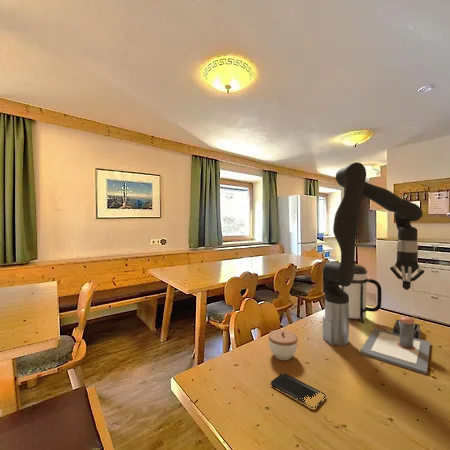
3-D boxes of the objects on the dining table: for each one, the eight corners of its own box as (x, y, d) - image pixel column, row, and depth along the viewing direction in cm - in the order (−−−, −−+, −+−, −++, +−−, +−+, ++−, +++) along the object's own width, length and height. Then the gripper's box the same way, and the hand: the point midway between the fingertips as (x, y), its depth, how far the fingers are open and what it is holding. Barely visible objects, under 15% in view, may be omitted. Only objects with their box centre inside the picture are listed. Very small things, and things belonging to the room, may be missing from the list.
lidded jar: (297, 350, 100) (297, 326, 100) (297, 366, 89) (297, 339, 89) (269, 347, 103) (269, 324, 102) (267, 361, 92) (267, 336, 92)
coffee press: (349, 325, 122) (350, 263, 121) (331, 313, 138) (331, 258, 137) (382, 323, 124) (383, 262, 123) (360, 311, 140) (361, 257, 139)
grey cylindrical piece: (406, 349, 97) (407, 321, 97) (396, 343, 102) (396, 316, 101) (416, 348, 98) (417, 320, 98) (405, 342, 103) (406, 315, 102)
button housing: (419, 339, 107) (420, 332, 107) (391, 332, 114) (391, 325, 114) (421, 331, 115) (421, 324, 115) (395, 325, 121) (395, 318, 121)
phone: (283, 372, 85) (327, 394, 74) (283, 375, 85) (327, 398, 74) (269, 383, 79) (314, 409, 68) (269, 386, 79) (314, 413, 68)
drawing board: (426, 374, 84) (426, 370, 84) (360, 353, 97) (360, 350, 97) (430, 344, 104) (430, 341, 104) (374, 330, 117) (374, 327, 117)
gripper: (426, 250, 111) (425, 290, 111) (390, 248, 119) (390, 285, 120) (425, 252, 105) (424, 294, 106) (388, 250, 114) (387, 288, 114)
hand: (406, 289), depth 113 cm, fingers closed
